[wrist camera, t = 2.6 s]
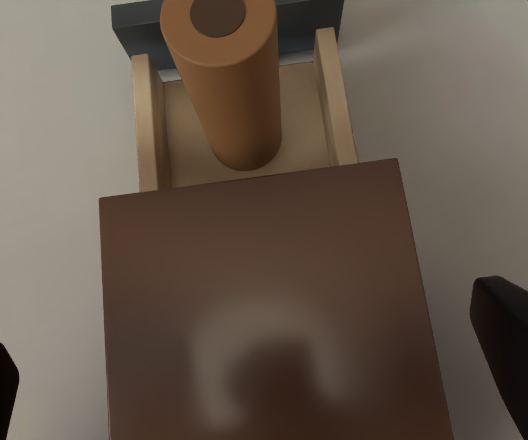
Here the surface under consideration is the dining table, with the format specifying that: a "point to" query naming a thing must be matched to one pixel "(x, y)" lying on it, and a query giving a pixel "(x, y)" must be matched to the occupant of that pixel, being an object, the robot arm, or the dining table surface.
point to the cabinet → (269, 311)
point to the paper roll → (229, 74)
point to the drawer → (291, 99)
